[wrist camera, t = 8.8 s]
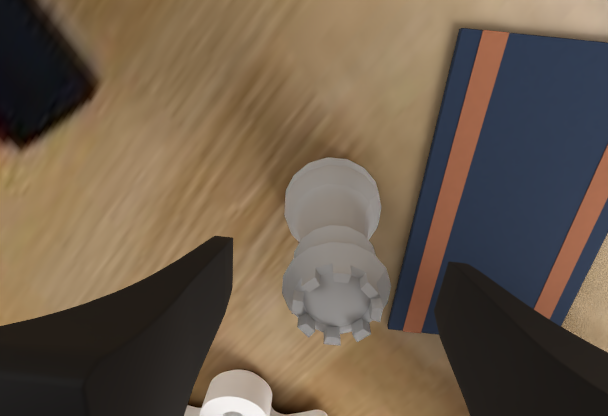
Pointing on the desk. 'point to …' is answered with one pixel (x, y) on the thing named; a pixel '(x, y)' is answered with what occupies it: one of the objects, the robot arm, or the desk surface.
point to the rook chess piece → (334, 250)
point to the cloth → (512, 174)
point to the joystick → (240, 397)
